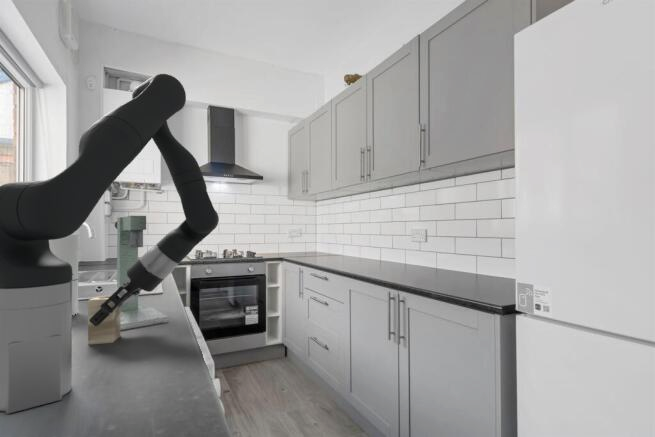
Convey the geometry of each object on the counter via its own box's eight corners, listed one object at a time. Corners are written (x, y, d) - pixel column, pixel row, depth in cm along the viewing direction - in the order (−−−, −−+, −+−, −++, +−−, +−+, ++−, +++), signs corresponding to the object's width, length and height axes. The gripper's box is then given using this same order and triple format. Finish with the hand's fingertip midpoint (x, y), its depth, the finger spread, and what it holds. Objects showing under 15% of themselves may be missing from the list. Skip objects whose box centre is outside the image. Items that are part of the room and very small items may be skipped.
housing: (112, 342, 80) (112, 298, 80) (88, 344, 78) (88, 299, 79) (120, 336, 84) (120, 294, 85) (97, 338, 83) (97, 295, 84)
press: (167, 321, 97) (167, 215, 98) (118, 330, 89) (118, 214, 90) (138, 304, 122) (138, 219, 123) (98, 310, 114) (98, 219, 115)
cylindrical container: (44, 316, 107) (45, 235, 108) (70, 311, 113) (71, 234, 114) (56, 318, 104) (57, 235, 104) (82, 313, 110) (83, 234, 111)
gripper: (149, 255, 91) (100, 302, 88) (132, 259, 77) (73, 315, 74) (171, 274, 92) (123, 321, 89) (158, 282, 78) (100, 338, 75)
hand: (100, 318), depth 82 cm, fingers open, 8 cm apart
